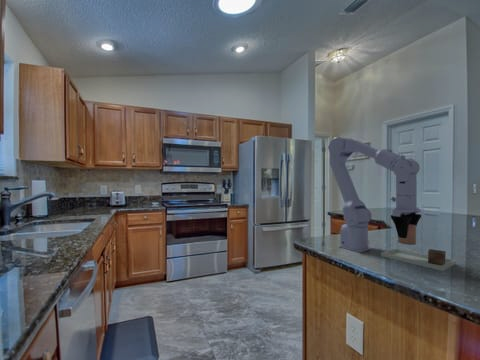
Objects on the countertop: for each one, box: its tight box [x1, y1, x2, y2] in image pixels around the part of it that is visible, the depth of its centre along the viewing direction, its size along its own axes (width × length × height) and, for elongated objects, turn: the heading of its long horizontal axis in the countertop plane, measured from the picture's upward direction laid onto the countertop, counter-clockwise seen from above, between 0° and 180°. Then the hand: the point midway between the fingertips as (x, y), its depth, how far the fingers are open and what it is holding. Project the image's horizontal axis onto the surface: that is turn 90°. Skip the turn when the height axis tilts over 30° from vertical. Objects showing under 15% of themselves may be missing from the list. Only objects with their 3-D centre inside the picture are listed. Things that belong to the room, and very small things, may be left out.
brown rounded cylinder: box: [397, 224, 417, 246], centre depth 85 cm, size 5×5×6 cm
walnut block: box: [427, 248, 446, 266], centre depth 79 cm, size 4×4×4 cm
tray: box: [380, 247, 456, 272], centre depth 83 cm, size 17×10×2 cm, turn 35°
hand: (406, 236), depth 86 cm, fingers closed on brown rounded cylinder, 5 cm apart
